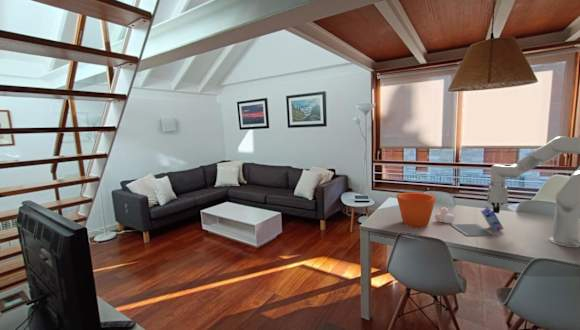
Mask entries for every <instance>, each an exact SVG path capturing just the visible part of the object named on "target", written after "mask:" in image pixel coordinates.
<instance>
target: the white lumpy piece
mask: <svg viewBox="0 0 580 330" xmlns="http://www.w3.org/2000/svg"><path fill="white" fill-rule="evenodd" d="M439 209H440V211H441V213H439V212H438V213H436V214H435V215H434V219H435V221H436V222H438V221H439V223H441V222H444V223H443V224H453V222H454V221H455V216H454V215H453V214H451V213H448V212H449V210H450V208H447V207H444V206H443V207H440V208H439Z"/></svg>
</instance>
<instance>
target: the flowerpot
mask: <svg viewBox="0 0 580 330" xmlns="http://www.w3.org/2000/svg"><path fill="white" fill-rule="evenodd" d="M396 199H397V203H398V206H399V211H400V212H399V213H400V215H401V219H402V224H403V223H404V224H406V225H408V226H407V227H409V226H412V227H411V228H415V227H423V228H426V227H425V226H427V225H428V226H429V223H430V220H431V216H432V212H433V210H434V206H435V203H436V200H437V196H436V195H433V194H430V193H426V192H425V193H424V192H417V191H415V192H414V191H413V192H412V191H411V192H409V191H408V192H407V191H406V192H401V193H397V194H396ZM404 224H403V225H404ZM406 225H405V226H406ZM428 226H427V227H428Z"/></svg>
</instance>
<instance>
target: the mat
mask: <svg viewBox="0 0 580 330" xmlns="http://www.w3.org/2000/svg"><path fill="white" fill-rule="evenodd" d="M450 225H451V226H450ZM449 226H450V227H452V226H453V227H454V228H453V227H452V228H453V229H455V230H456V229H457V230H456V231H458V232H459V231H460V232H459V233H461V234H463V235H464V236H465V237H498V234H497V233H494V231H493V232H492V231H491V230H489V229H487V228H486V227H484V226H482V225H480V224H478V223H470V224H469V223H461V224H458V223H457V224H456V223H454V224H453V223H449Z"/></svg>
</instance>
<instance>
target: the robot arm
mask: <svg viewBox="0 0 580 330" xmlns="http://www.w3.org/2000/svg"><path fill="white" fill-rule="evenodd" d="M562 154H573V155H580V136H578V137H576V136H575V137H574V136H566V135H560V136H556V137H555V138H553V139H551V140H550V141H548V142H546V143H545V144H543V145H542V146H539V147H538V148H536V149H534V150H533V151H531V152H530V153H529V154H528V155H526V156H524V157H523V158H521V159H519V160H518V161H516V162H515V163H513V164H511V165H509V166H507V165H504V164H493V165H492V166H491V168H490V169H491V170H490V182H488V190H487V193H486V194H487V195H486V203H487V204H489V205H491V206H492V211H493V212H494V213H495V214H500V212H501V211H500V209H501V207H502V206H503V205H505V204H507V203H508V201H509V193H508V188H507V186H506V183H507V179H506V178H509V179H518V178H519V177H521V176H522V175H524V174H525V173H526V172H528V171H531V170H532V169H534V168H536V167H538V166H541V165H545V164H546V163H548V162H549V161H552V160H553V159H556V158H557V157H559V156H561V155H562ZM554 198H555V209H554V219H553V221H554V222H553V233H552V236H550V237H549V238H548V241H549V242H551V243H552V244H554V245H558V246H562V247H568V248H580V247H579V246H580V238H579V236H578V233H579V224H580V223H579V221H580V165H579V166H578V167H577V169H576V170H575V171H574V172H573V173H572V174H571V175H570V176H569V178H568V179H567V181H566V182H565V184H564V185H563V186H562V187H560V188H559V189H558V190H557V191H556V194H555V197H554Z"/></svg>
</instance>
